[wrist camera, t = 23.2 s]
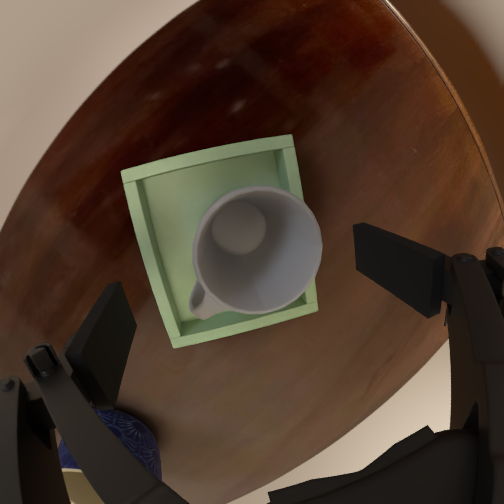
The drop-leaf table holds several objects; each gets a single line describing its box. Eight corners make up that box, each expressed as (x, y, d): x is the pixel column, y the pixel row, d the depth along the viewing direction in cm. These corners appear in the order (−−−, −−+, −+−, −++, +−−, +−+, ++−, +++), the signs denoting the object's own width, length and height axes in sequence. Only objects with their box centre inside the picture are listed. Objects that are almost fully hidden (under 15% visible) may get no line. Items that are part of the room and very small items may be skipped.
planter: (183, 437, 30) (188, 509, 20) (124, 465, 30) (119, 525, 20) (105, 380, 26) (83, 457, 16) (54, 417, 26) (31, 479, 16)
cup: (299, 219, 25) (347, 242, 17) (227, 306, 26) (243, 362, 18) (231, 162, 23) (252, 156, 15) (157, 257, 24) (141, 299, 16)
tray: (128, 171, 22) (120, 170, 19) (280, 138, 24) (292, 134, 21) (174, 331, 26) (173, 348, 24) (306, 297, 28) (318, 310, 25)
